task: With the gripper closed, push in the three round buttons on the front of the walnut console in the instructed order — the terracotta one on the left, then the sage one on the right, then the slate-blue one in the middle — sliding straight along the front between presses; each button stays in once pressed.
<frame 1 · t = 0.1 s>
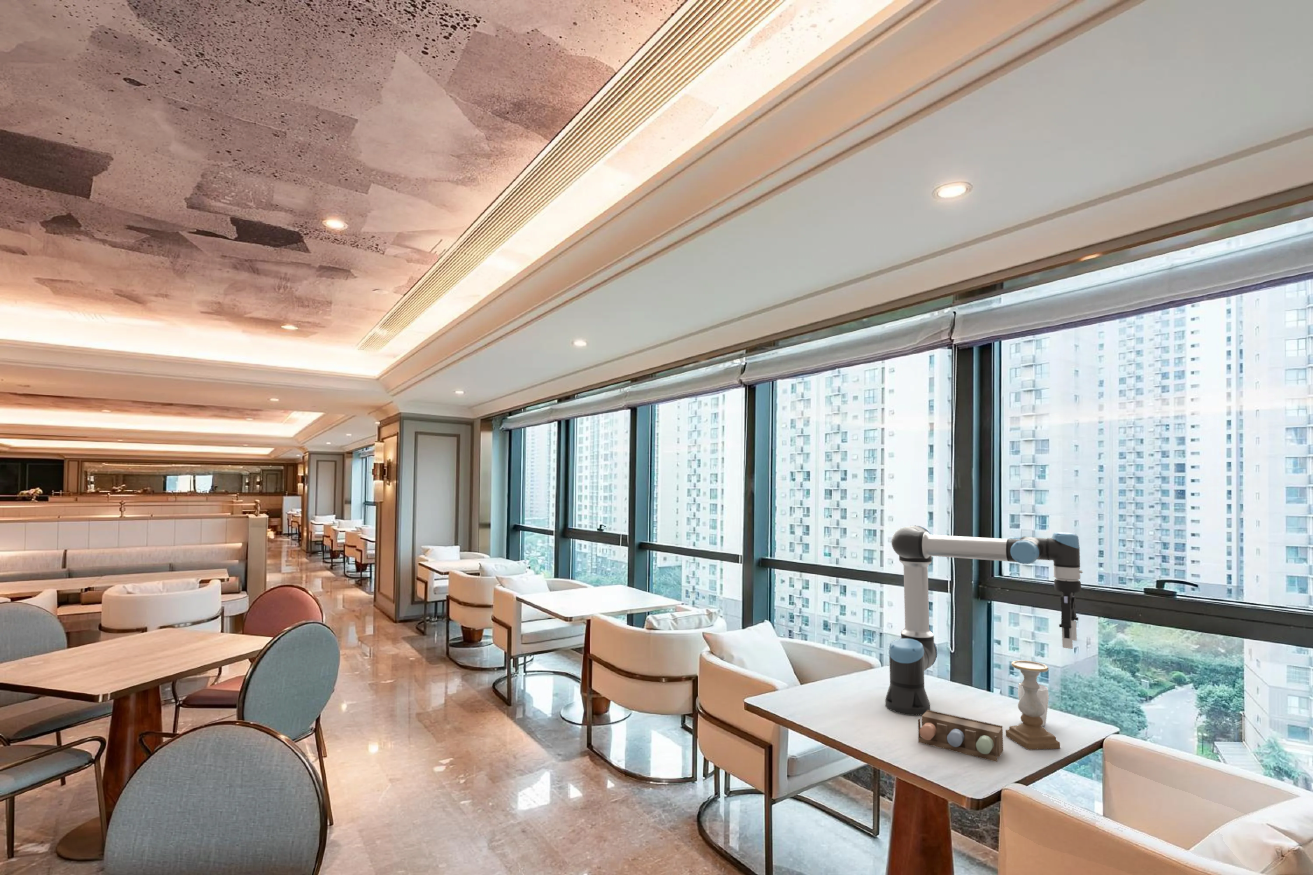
hand: (1069, 643, 210), 28 cm above the table, fingers open, 13 cm apart
button sage: (984, 744, 187), point 4 cm above the table, slide at 0.0 cm
button slate: (955, 737, 192), point 4 cm above the table, slide at 0.0 cm
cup: (1034, 723, 215), on the table
console: (960, 746, 196), on the table
candle holder: (1032, 742, 199), on the table
button terracotta: (928, 731, 197), point 4 cm above the table, slide at 0.0 cm
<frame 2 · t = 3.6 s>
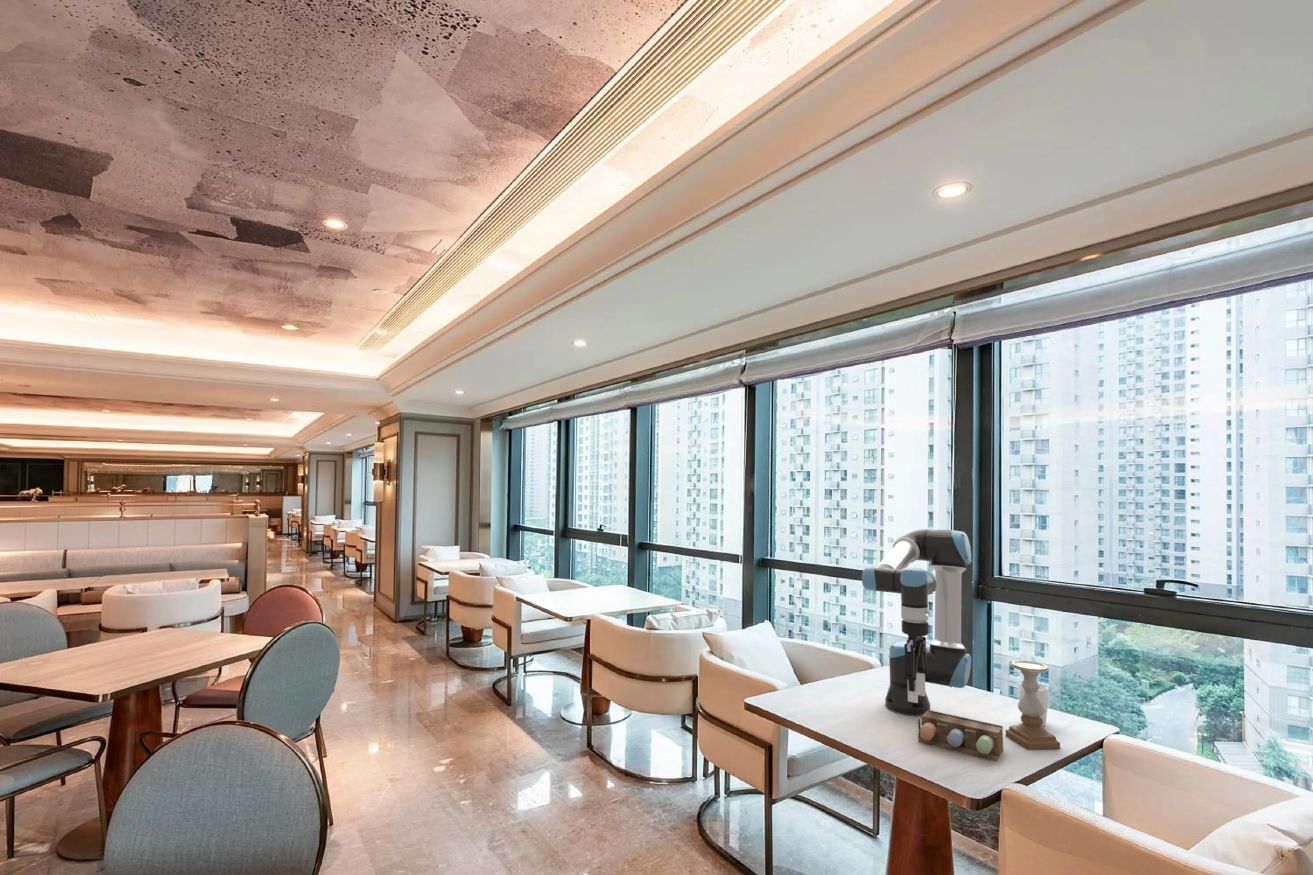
hand: (916, 698, 189), 17 cm above the table, fingers open, 7 cm apart
nothing on the table moved.
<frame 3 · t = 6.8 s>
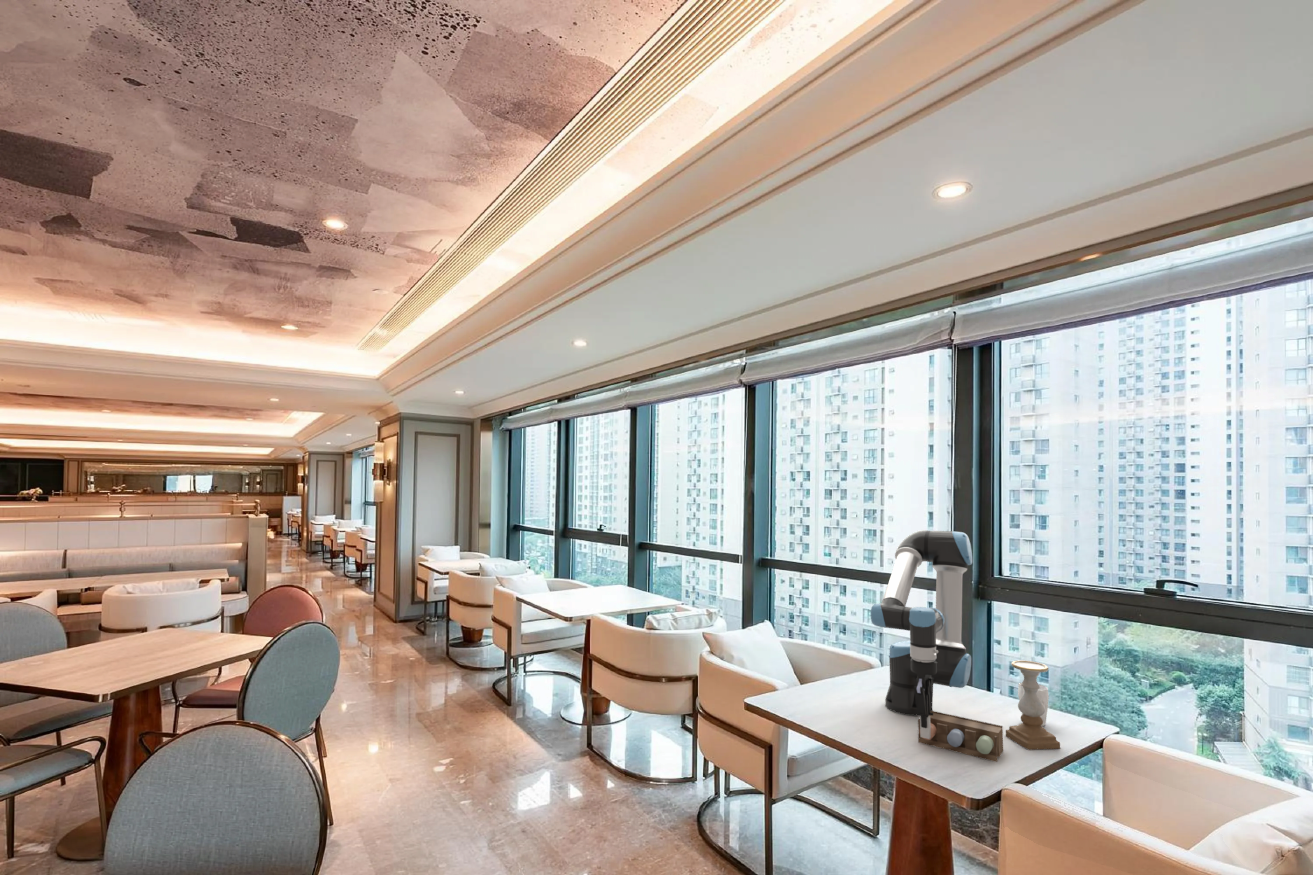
hand: (925, 736, 195), 3 cm above the table, fingers closed
button terracotta: (928, 731, 197), point 4 cm above the table, slide at 0.0 cm, touching gripper
everything else where it was.
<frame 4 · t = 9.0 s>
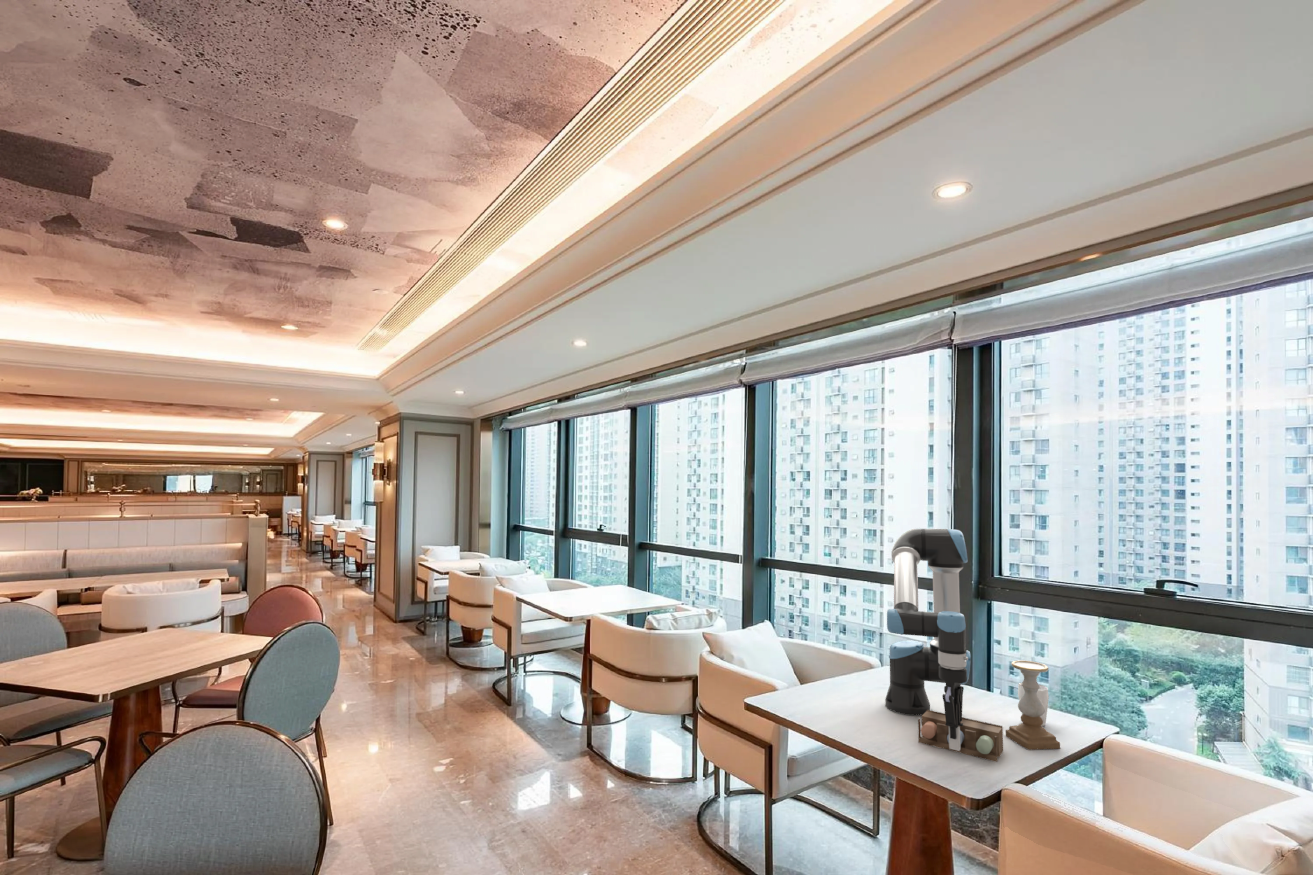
hand: (954, 748, 184), 4 cm above the table, fingers closed
button terracotta: (929, 729, 198), point 4 cm above the table, slide at 1.4 cm
everything else where it was.
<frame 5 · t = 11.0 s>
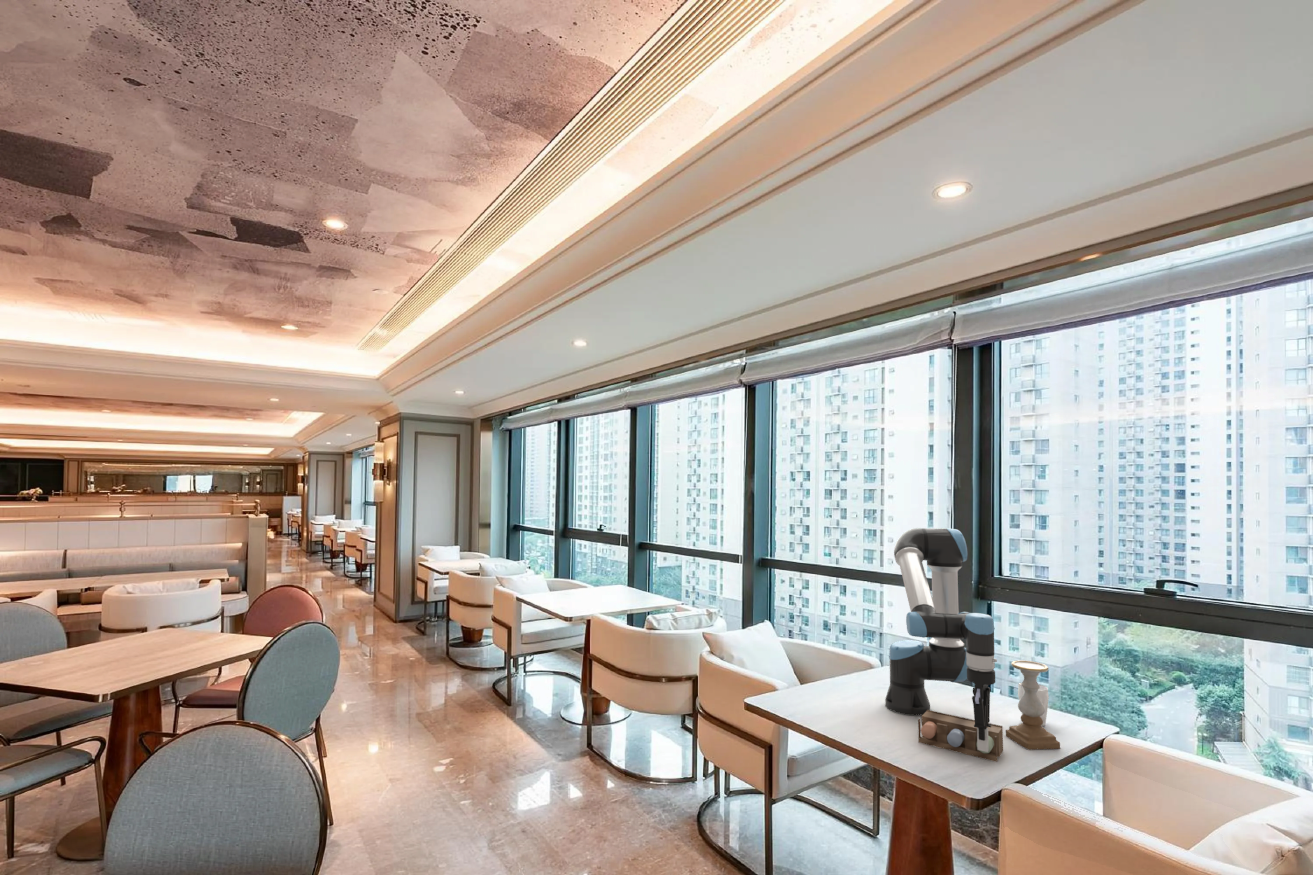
hand: (983, 749, 185), 3 cm above the table, fingers closed
button sage: (985, 743, 187), point 4 cm above the table, slide at 0.7 cm, touching gripper
everything else where it was.
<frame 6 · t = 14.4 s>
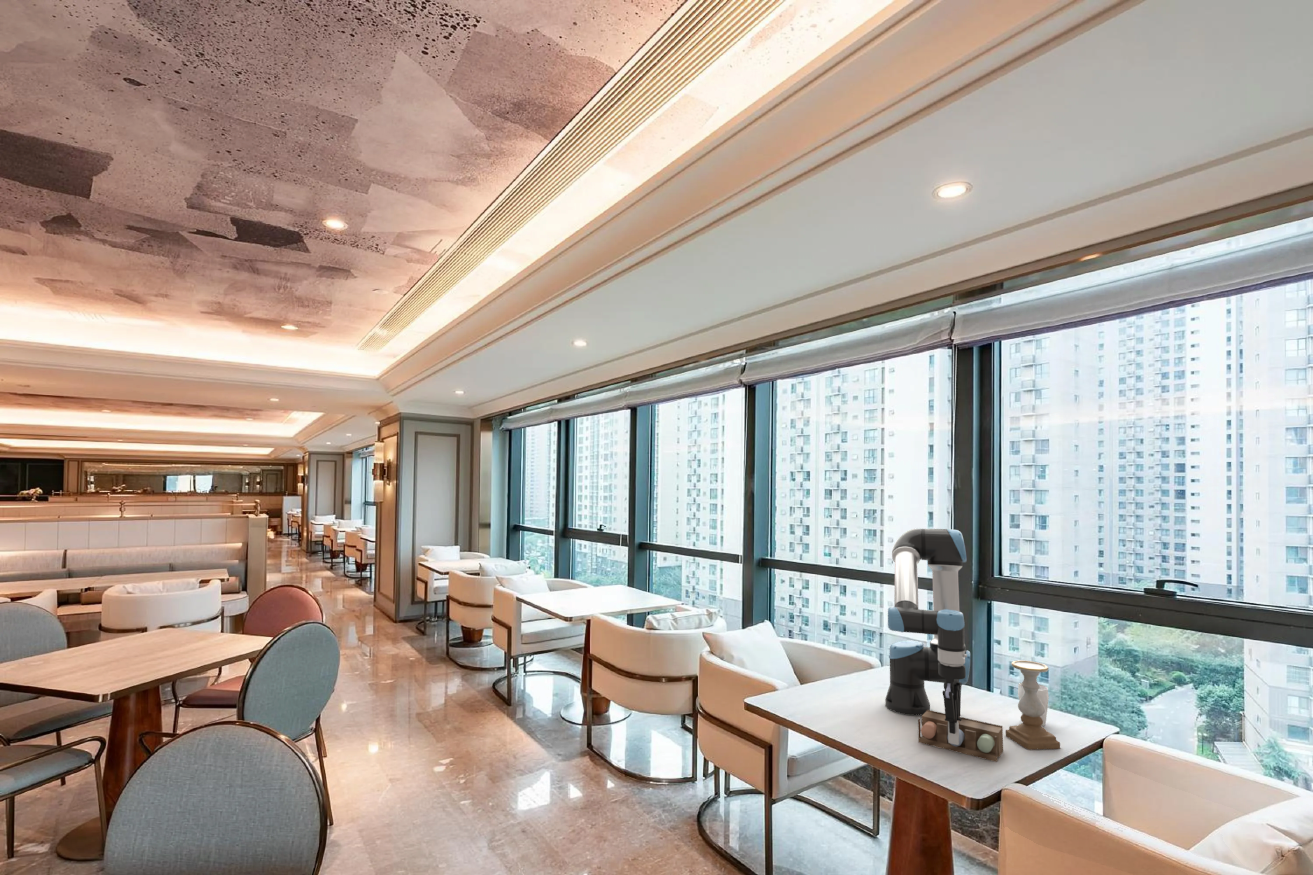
hand: (953, 742, 190), 3 cm above the table, fingers closed
button sage: (985, 743, 188), point 4 cm above the table, slide at 1.4 cm
button slate: (956, 737, 192), point 4 cm above the table, slide at 0.6 cm, touching gripper
everything else where it was.
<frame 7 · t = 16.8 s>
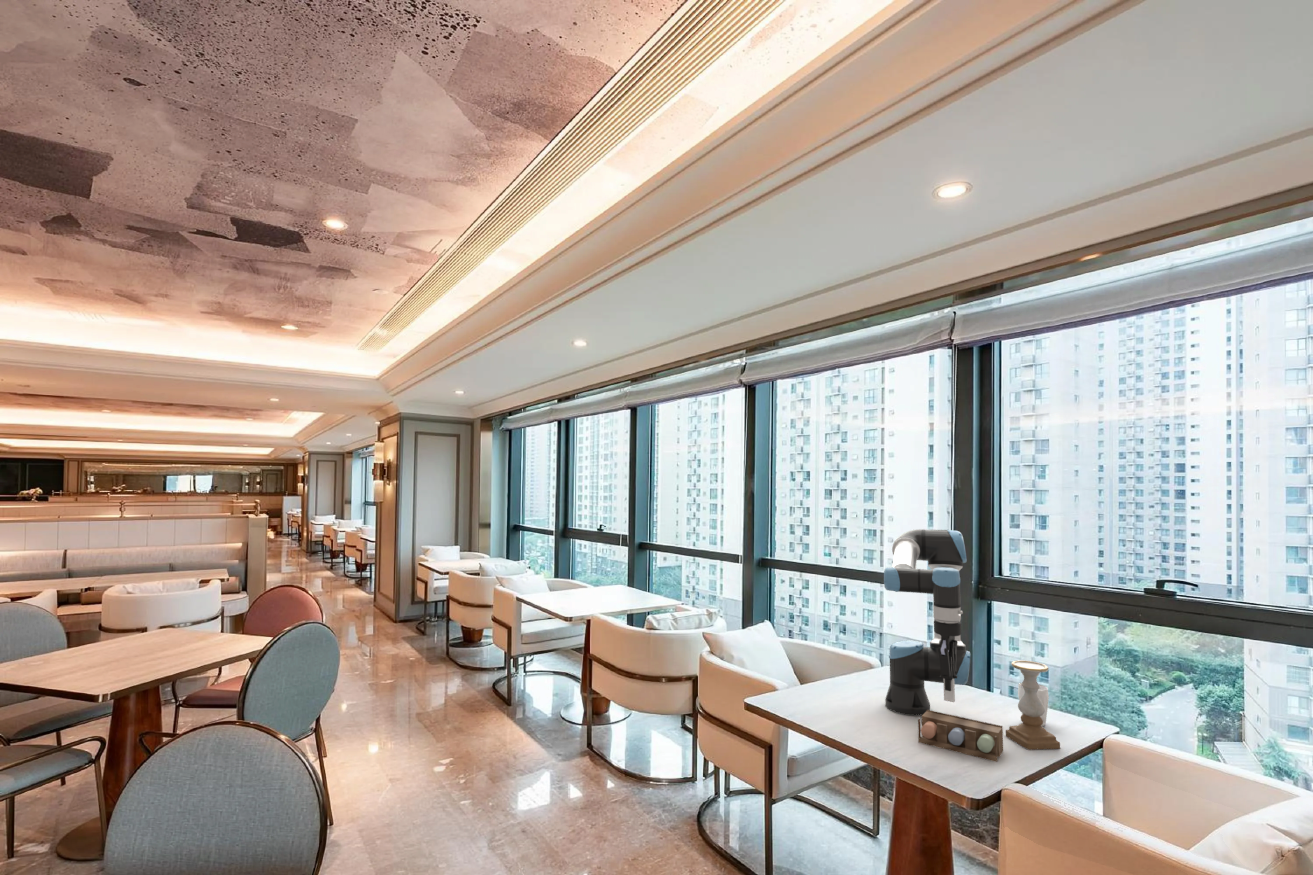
hand: (949, 700, 188), 17 cm above the table, fingers closed
button slate: (956, 736, 193), point 4 cm above the table, slide at 1.4 cm
everything else where it was.
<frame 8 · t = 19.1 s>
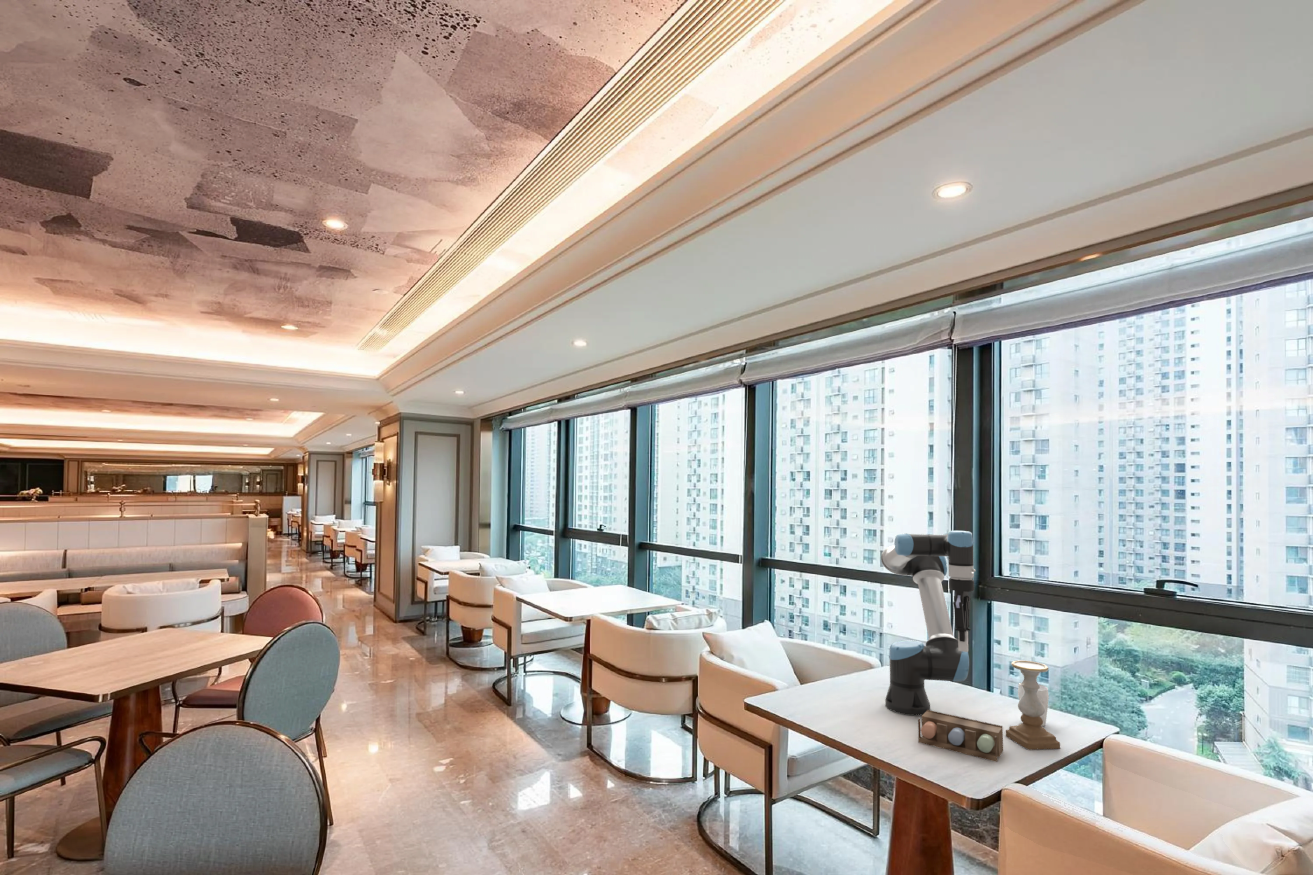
hand: (963, 650, 207), 26 cm above the table, fingers closed
nothing on the table moved.
at the end: button terracotta slide at 1.4 cm; button sage slide at 1.4 cm; button slate slide at 1.4 cm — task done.
